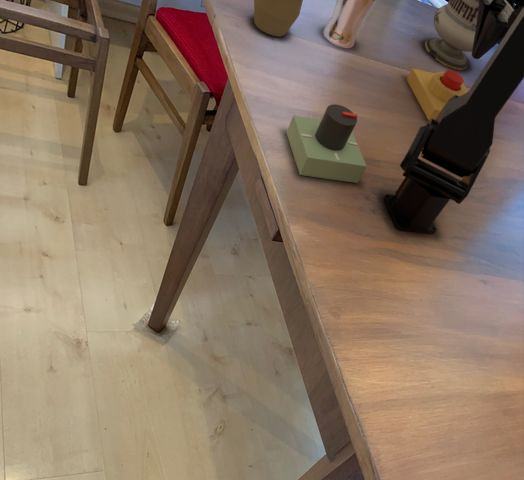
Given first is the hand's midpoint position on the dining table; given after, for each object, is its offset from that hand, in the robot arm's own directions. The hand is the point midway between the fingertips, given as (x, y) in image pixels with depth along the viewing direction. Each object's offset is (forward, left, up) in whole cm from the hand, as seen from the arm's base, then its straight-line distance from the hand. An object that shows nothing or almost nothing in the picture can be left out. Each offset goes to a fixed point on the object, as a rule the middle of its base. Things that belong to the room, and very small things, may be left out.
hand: (474, 57), depth 86 cm
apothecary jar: (+26, -14, -12) cm, 32 cm away
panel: (-14, +25, -12) cm, 31 cm away
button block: (+7, -4, -12) cm, 14 cm away
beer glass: (+22, +12, -12) cm, 28 cm away
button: (+7, -4, -8) cm, 12 cm away
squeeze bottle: (+20, +26, -12) cm, 35 cm away
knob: (-14, +25, -9) cm, 30 cm away
